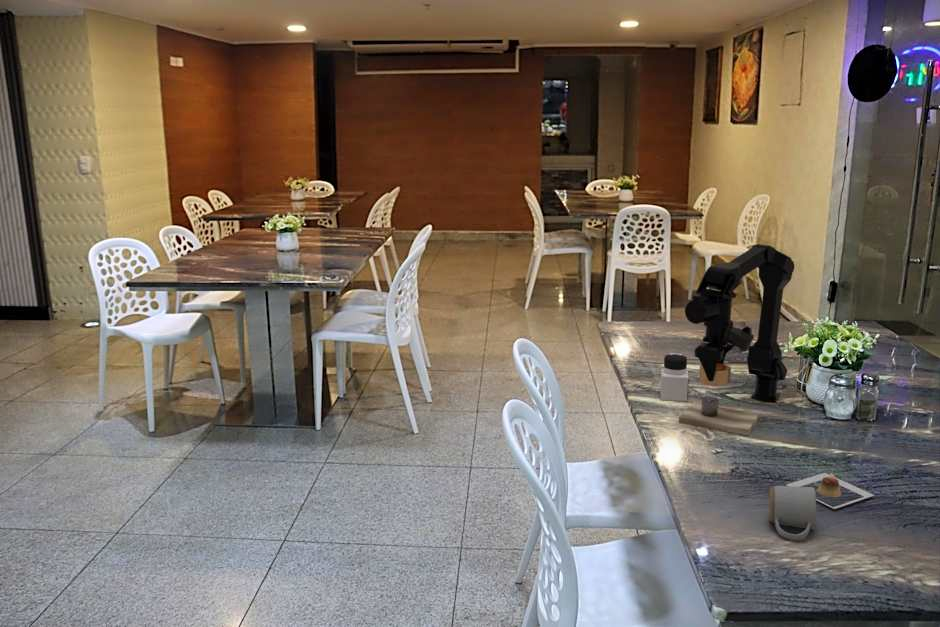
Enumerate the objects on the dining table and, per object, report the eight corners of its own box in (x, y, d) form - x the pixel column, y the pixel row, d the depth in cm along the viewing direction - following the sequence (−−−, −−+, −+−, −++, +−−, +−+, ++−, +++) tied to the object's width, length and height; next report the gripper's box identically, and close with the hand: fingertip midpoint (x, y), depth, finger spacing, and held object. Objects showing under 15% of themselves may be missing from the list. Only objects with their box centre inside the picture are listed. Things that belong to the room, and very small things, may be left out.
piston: (703, 410, 206) (704, 395, 205) (719, 412, 204) (720, 398, 203) (699, 414, 202) (700, 400, 201) (715, 417, 200) (716, 402, 199)
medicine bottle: (687, 402, 216) (690, 359, 213) (660, 400, 217) (662, 358, 214) (686, 393, 222) (688, 352, 220) (659, 391, 224) (662, 351, 221)
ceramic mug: (766, 511, 156) (769, 476, 154) (811, 517, 154) (815, 481, 152) (769, 539, 147) (772, 501, 145) (817, 545, 144) (821, 507, 142)
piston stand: (692, 407, 211) (692, 402, 211) (758, 419, 203) (759, 414, 202) (678, 422, 201) (679, 417, 201) (747, 435, 193) (748, 430, 192)
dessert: (833, 514, 156) (836, 491, 155) (785, 489, 166) (787, 468, 165) (874, 500, 161) (876, 478, 160) (824, 477, 172) (826, 456, 171)
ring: (703, 375, 205) (704, 360, 204) (731, 379, 202) (732, 364, 201) (696, 383, 199) (697, 368, 198) (725, 387, 196) (726, 372, 195)
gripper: (743, 329, 184) (738, 393, 188) (760, 312, 200) (755, 371, 204) (695, 323, 190) (692, 385, 194) (715, 307, 206) (711, 365, 209)
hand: (714, 376), depth 200 cm, fingers closed on ring, 7 cm apart
